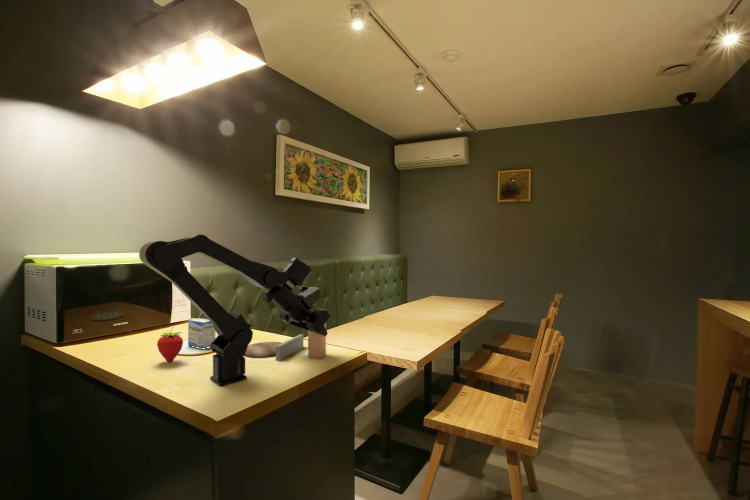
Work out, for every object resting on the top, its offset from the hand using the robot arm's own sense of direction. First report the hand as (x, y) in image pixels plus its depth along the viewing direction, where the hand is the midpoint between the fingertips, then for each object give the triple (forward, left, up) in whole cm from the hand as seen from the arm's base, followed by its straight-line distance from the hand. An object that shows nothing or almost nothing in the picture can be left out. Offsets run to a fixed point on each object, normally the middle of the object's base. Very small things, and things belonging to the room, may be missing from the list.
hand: (320, 332), depth 105 cm
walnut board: (-9, +16, -7) cm, 20 cm away
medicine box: (-21, +35, -7) cm, 42 cm away
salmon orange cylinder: (-1, 0, -7) cm, 7 cm away
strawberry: (-33, +25, -7) cm, 42 cm away
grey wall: (-5, +8, -7) cm, 12 cm away
